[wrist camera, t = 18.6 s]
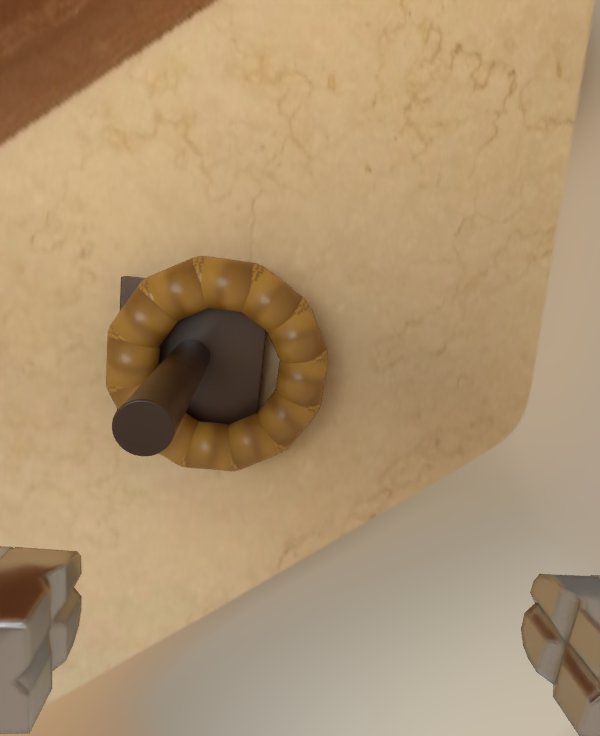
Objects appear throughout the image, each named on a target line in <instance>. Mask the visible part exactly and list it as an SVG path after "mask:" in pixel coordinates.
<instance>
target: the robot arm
mask: <svg viewBox="0 0 600 736" xmlns="http://www.w3.org/2000/svg"><path fill="white" fill-rule="evenodd" d="M81 573H82V572H81V555H80V554H79V553H78V552H77V551H65V550H51V549H36V548H22V547H15V548H13V547H4V546H0V734H20V733H21V734H22V733H30V732H31V730H32V728H33V726H34V724H35V721H36V720H37V718H38V716H39V714H40V712H41V710H42V707H43V705H44V703H45V701H46V699H47V697H48V695H49V693H50V691H51V689H52V671H53V670H54V669H56V668H57V667H58V666H60V665H61V664H62V663H64V662H65V661H66V659H67V656H68V654H69V652H70V650H71V648H72V646H73V643H74V640H75V636H76V633H77V630H78V626H79V621H80V614H81V595H80V594H79V593H78V592H77V590H76V589H75V588H74V586H75V584H76V582H77V581H78V579H79V577H80V575H81ZM530 593H531V595H532V597H533V600H534V601H535V604H534V605H533V606H532V607H531V608H530V609H529V610H527V611H526V612H525V614H524V618H523V623H522V627H521V632H522V640H523V646H524V649H525V651H526V654H527V657H528V659H529V661H530V662H531V664H532V665H533V667H534V668H535V670H536V672H537V673H539V674H540V675H541V676H543V677H544V678H546V679H547V680H548V681H549V682H551V683H552V684H553V697H554V699H555V700H556V702H557V703H558V705H559V706H560V708H561V709H562V711H563V712H564V713H565V715H566V717H567V718H568V720H569V721H570V723H571V724H572V726H573V727H574V729H575V730H576V732H577V733H578V735H579V736H600V575H591V576H574V575H551V574H539V576H538V577H537V578H536V579H535V580H534V582H533V585H532V588H531V592H530Z"/></svg>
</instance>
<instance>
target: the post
mask: <svg viewBox="0 0 600 736" xmlns="http://www.w3.org/2000/svg"><path fill="white" fill-rule="evenodd" d="M144 279H146V278H139V277H131V276H124V277H121V294H120V311H121V309H122V308H123V306H124V305H125V304H126V302H127V301H128V299H129V298H130V296H131V295H132V294H133V292H134V291H135V289H136V288H137V286H138V285H139V284H140V283H141V282H142V281H143V280H144ZM265 336H266V330H264V329H263V328H262V327H260V326H259V325H258V324H256V323H255V322H254V321H252V320H251V319H250V318H248V317H247V316H246V315H244V314H243V313H242V312H235V311H227V310H219V309H211V308H207V309H205V310H203V311H200V312H198V313H195V314H193V315H191V316H188V317H186V318H184V319H181V320H179V321H178V322H177V323H176V325H175V326H174V327H173V329H172V330H171V332H170V333H169V334H168V336H167V337H166V338H165V340H164V341H163V343H162V344H161V345H160V356H159V366H158V367H157V368H156V369H155V370H154V371H153V372H152V374H151V375H150V376H149V377H148V378H147V379H146V380H145V381H144V382H143V383H142V384H141V385H140V386H139V388H138V389H137V390H136V391H135V392H134V393H133V394H132V395H131V396H130V397H129V398H128V399H127V400H126V401H125V403H124V404H123V405H122V406H121V407H120V408H119V409H118V408H117V412H116V413H115V415H114V418H113V421H112V431H113V435H114V437H115V439H116V441H117V443H118V444H119V445H120V446H121V447H122V448H123V449H124V450H126V451H127V452H129V453H131V454H134V455H138V456H152V455H155V454H158V453H160V452H162V451H163V450H165V449H166V448H167V447H168V446H169V445H170V443H171V442H172V440H173V438H174V436H175V433H176V431H177V429H178V427H179V425H180V423H181V421H182V419H183V417H184V414H185V412H186V413H187V414H189V415H190V416H192V417H193V418H195V419H196V420H198V421H203V422H213V423H223V424H231V423H234V422H236V421H239V420H241V419H243V418H246V417H248V416H251V415H253V414H255V413H257V412H258V402H259V393H260V383H261V374H262V364H263V355H264V345H265Z"/></svg>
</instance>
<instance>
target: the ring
mask: <svg viewBox="0 0 600 736" xmlns="http://www.w3.org/2000/svg"><path fill="white" fill-rule="evenodd" d="M207 308H211V309H219V310H227V311H235V312H242V313H243V314H244V315H246V316H247V317H248V318H250V319H251V320H252V321H254V322H255V323H256V324H258V325H259V326H260V327H262V328H263V329H264V330H266V331H267V332H268V334H269V336H270V339H271V341H272V343H273V346H274V348H275V350H276V353H277V355H278V357H279V360H280V362H279V370H278V377H277V385H276V390H275V391H274V392H273V394H272V395H271V396H270V398H269V399H268V400H267V401H266V403H265V404H264V405H263V407H262V408H261V409H260V410H259V412H258V413H255V414H253V415H251V416H248V417H246V418H243V419H241V420H239V421H236V422H234V423H231V424H223V423H213V422H203V421H198V420H196V419H195V418H193V417H192V416H190V415H189V414H187V413H186V412H185V414H184V417H183V419H182V421H181V423H180V425H179V427H178V429H177V431H176V433H175V436H174V438H173V440H172V442H171V443H170V445H169V446H168V447H167V448H166V449H165V450H163V451H162V452H160V454H161V455H163V456H164V457H166V458H168V459H169V460H171V461H172V462H174V463H175V464H177V465H179V466H182V467H188V468H200V469H212V470H224V471H237V470H241V469H243V468H246V467H248V466H250V465H253V464H255V463H258V462H260V461H262V460H265V459H267V458H270V457H272V456H274V455H277V454H279V453H281V452H283V451H285V450H286V449H287V448H289V446H290V445H291V444H292V443H293V441H294V440H295V439H296V438H297V436H298V435H299V434H300V433H301V432H302V430H303V429H304V428H305V427H306V425H307V424H308V423H309V422H310V420H311V419H312V418H313V417H314V415H315V414H316V413H317V411H318V410H319V407H320V405H321V399H322V393H323V387H324V380H325V374H326V367H327V361H328V353H327V349H326V346H325V344H324V341H323V339H322V336H321V334H320V331H319V329H318V326H317V324H316V321H315V319H314V316H313V314H312V311H311V309H310V306H309V304H308V302H307V301H306V300H305V299H304V298H303V297H302V296H301V295H299V294H298V293H297V292H296V291H294V290H293V289H292V288H290V287H289V286H288V285H287V284H285V283H284V282H283V281H281V280H280V279H279V278H278V277H276V276H275V275H274V274H273V273H271V272H270V271H269V270H267V269H266V268H265V267H263V266H262V265H259V264H256V263H250V262H243V261H236V260H229V259H222V258H215V257H207V256H198V257H195V258H192V259H190V260H187V261H185V262H182V263H180V264H178V265H175V266H173V267H171V268H168V269H166V270H163V271H161V272H159V273H156V274H154V275H152V276H149V277H147V278H146V279H144V280H143V281H142V282H141V283H140V284H139V285H138V286H137V288H136V289H135V291H134V292H133V294H132V295H131V296H130V298H129V299H128V301H127V302H126V304H125V305H124V306H123V308H122V309H121V311H120V312H119V314H118V315H117V316H116V318H115V319H114V321H113V322H112V324H111V325H110V327H109V331H108V341H107V366H106V386H107V390H108V392H109V394H110V396H111V398H112V399H113V401H114V403H115V405H116V407H117V408H118V409H119V408H120V407H121V406H122V405H123V404H124V403H125V401H126V400H127V399H128V398H129V397H130V396H131V395H132V394H133V393H134V392H135V391H136V390H137V389H138V388H139V386H140V385H141V384H142V383H143V382H144V381H145V380H146V379H147V378H148V377H149V376H150V375H151V374H152V372H153V371H154V370H155V369H156V368H157V367H158V366H159V356H160V345H161V344H162V343H163V341H164V340H165V338H166V337H167V336H168V334H169V333H170V332H171V330H172V329H173V327H174V326H175V325H176V323H177V322H178V321H179V320H181V319H184V318H186V317H188V316H191V315H193V314H195V313H198V312H200V311H203V310H205V309H207Z"/></svg>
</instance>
